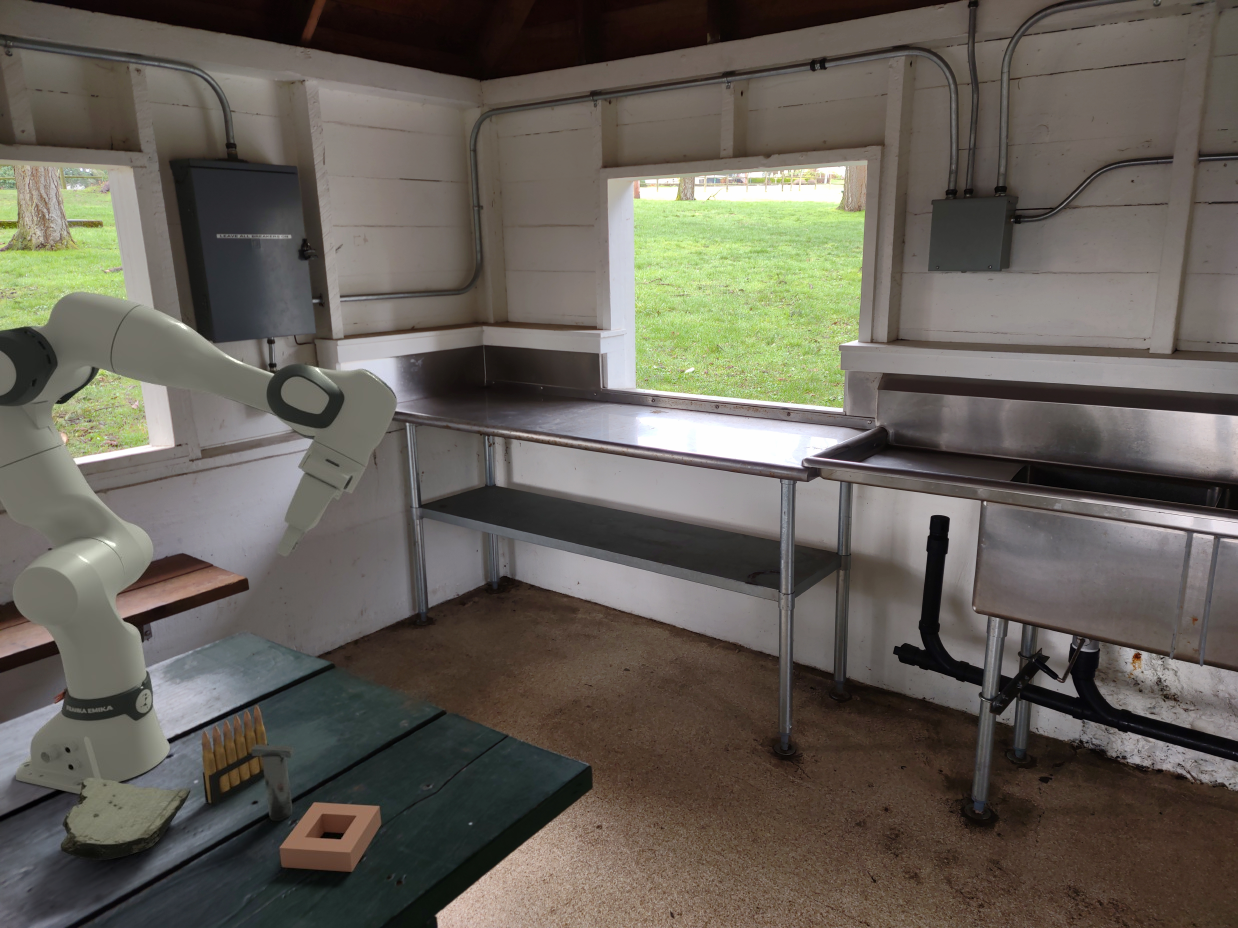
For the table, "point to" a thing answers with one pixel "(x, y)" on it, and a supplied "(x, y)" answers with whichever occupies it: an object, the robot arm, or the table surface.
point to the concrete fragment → (118, 818)
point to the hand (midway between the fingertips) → (284, 552)
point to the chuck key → (276, 778)
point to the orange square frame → (331, 853)
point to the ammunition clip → (232, 758)
